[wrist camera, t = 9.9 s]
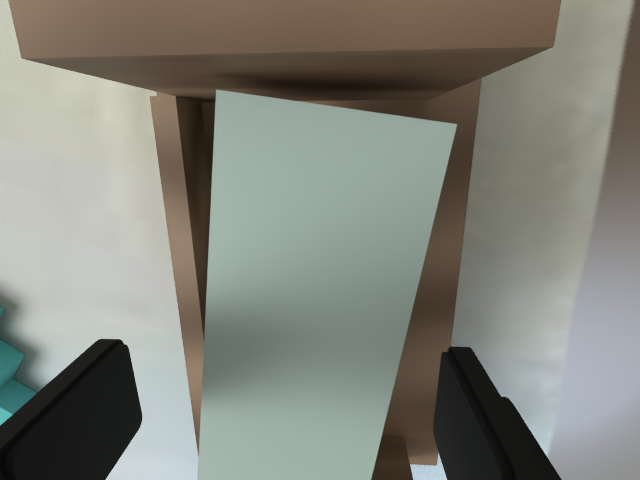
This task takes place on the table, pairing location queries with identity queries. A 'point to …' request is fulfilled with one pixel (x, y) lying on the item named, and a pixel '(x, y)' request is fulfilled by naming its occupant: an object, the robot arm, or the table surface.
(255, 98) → the plank
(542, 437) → the table surface
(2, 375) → the alien figure
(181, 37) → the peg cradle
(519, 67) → the table surface
